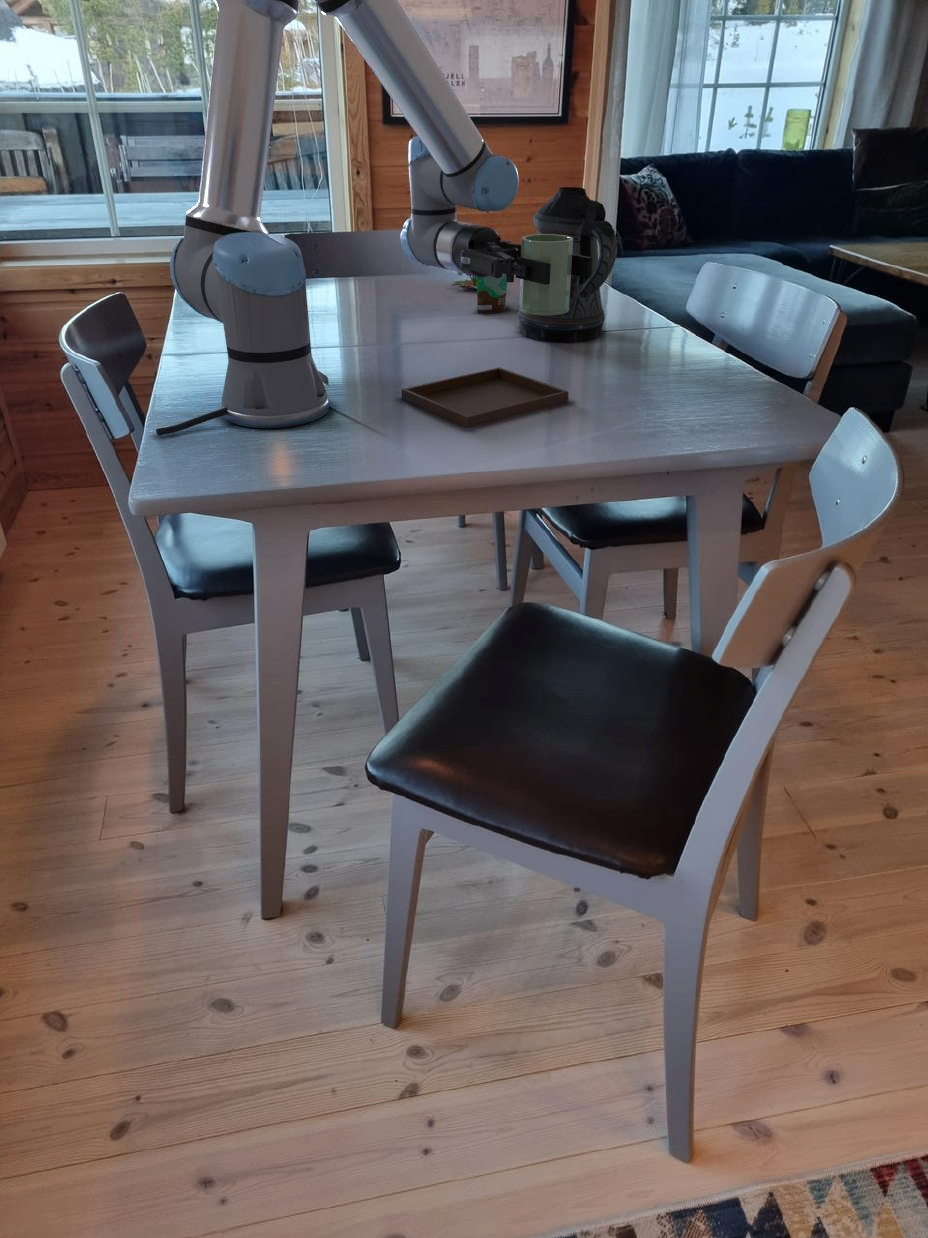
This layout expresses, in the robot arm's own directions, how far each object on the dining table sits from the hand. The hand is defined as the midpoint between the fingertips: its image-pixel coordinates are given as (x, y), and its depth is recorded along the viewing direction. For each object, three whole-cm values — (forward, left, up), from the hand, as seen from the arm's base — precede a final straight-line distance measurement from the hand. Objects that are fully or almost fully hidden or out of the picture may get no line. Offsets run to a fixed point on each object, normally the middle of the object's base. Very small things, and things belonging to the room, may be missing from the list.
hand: (569, 270), depth 124 cm
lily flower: (+40, +72, -18) cm, 84 cm away
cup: (0, +5, -6) cm, 8 cm away
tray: (-11, +5, -18) cm, 22 cm away
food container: (+30, +52, -18) cm, 62 cm away
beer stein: (+28, +28, -18) cm, 43 cm away
